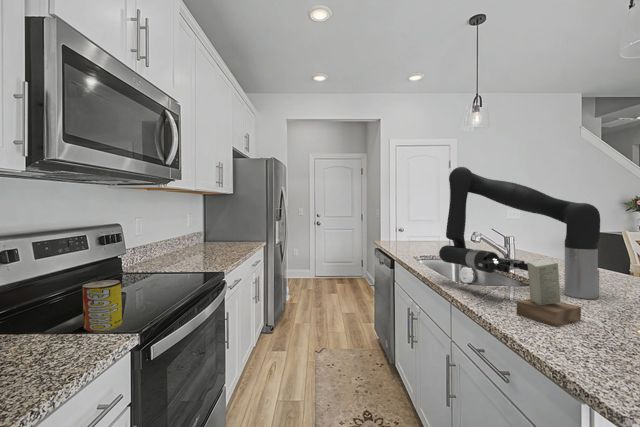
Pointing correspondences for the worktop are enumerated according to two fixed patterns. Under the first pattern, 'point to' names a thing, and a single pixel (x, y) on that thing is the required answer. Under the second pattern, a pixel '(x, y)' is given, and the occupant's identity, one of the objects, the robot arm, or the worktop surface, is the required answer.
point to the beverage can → (102, 305)
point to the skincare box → (544, 281)
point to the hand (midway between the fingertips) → (519, 268)
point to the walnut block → (549, 312)
